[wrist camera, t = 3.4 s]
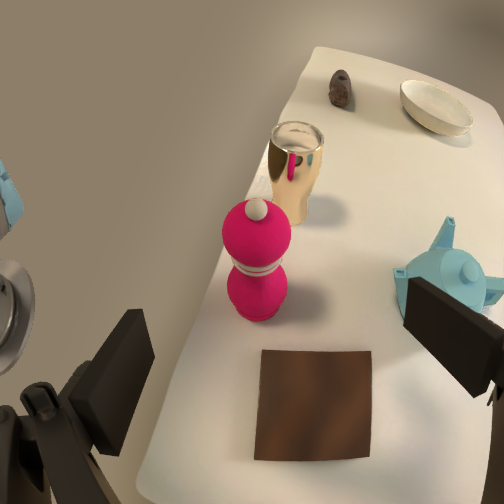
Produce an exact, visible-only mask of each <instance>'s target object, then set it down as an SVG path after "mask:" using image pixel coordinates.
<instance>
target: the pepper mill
mask: <svg viewBox="0 0 504 504" xmlns="http://www.w3.org/2000/svg"><path fill="white" fill-rule="evenodd" d="M222 236H223V243H224V245H225V248H226V250H227V251H228V253H229V254H230V255H231V258H232V261H233V263H234V267H233V268H232V270H231V272H230V274H229V277H228V281H227V290H228V295H229V298H230V300H231V302H232V303H233V305H234V306H235V307H236V310H237V311H238V312H239V314H240V315H242V316H243V317H244V318H246V319H248V320H252V321H263V320H266V319H269V318H271V317H272V316H273V315H274V314H275V313H276V312H277V311H278V309H279V307H280V305H281V304H282V303H283V301H284V299H285V297H286V294H287V278H286V275H285V272H284V270H283V268H282V267H281V266H280V263H281V261H282V257H283V254H284V253H285V251H286V250H287V249H288V246H289V243H290V240H291V227H290V223H289V220H288V218H287V216H286V214H285V213H284V211H283V210H282V209H281V208H280V207H278V206H277V205H275V204H274V203H272V202H270V201H267V200H262V199H259V198H254V199H251V200H246V201H244V202H242V203H239V204H238V205H236V206H235V207H234V208H233V209H232V210H231V211H230V212H229V213H228V215H227V216H226V218H225V221H224V224H223V228H222Z"/></svg>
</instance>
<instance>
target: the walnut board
mask: <svg viewBox="0 0 504 504" xmlns="http://www.w3.org/2000/svg"><path fill="white" fill-rule="evenodd" d="M371 415H372V364H371V351H352V352H316V351H280V350H262V356H261V371H260V385H259V399H258V413H257V426H256V439H255V452H254V460H264V461H324V460H340V459H352V458H362V457H369V456H370V441H371Z"/></svg>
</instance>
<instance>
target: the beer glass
mask: <svg viewBox="0 0 504 504" xmlns="http://www.w3.org/2000/svg"><path fill="white" fill-rule="evenodd" d="M323 142H324V138H323V135H322V133H321V132H320V131H319V130H318V129H317V128H316V127H314V126H312V125H310V124H308V123H304V122H299V121H288V122H283V123H280V124H278V125H276V126H275V127H274V128H273V129H272V130H271V134H270V143H269V151H268V170H269V177H270V182H271V186H272V191H273V198H272V201H271V202H272V203H274V204H275V205H277V206H278V207H280V208H281V209H282V210H283V211H284V213H285V214H286V216H287V218H288V220H289V223H290V226H296V225H299V224H301V223H302V222H303V221H304V220H305V219H306V218H307V215H308V198H309V195H310V193H311V191H312V189H313V187H314V185H315V182H316V180H317V177H318V175H319V171H320V167H321V161H322V152H323Z"/></svg>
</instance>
